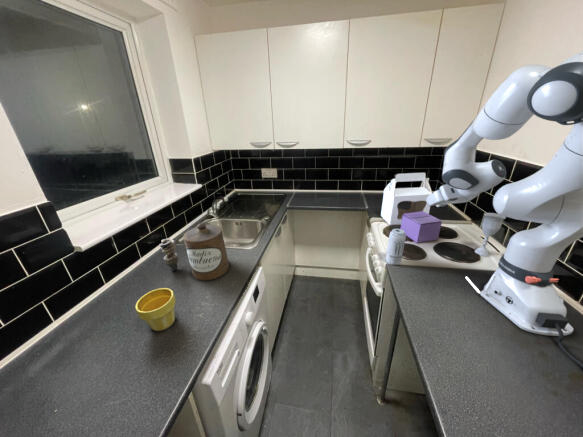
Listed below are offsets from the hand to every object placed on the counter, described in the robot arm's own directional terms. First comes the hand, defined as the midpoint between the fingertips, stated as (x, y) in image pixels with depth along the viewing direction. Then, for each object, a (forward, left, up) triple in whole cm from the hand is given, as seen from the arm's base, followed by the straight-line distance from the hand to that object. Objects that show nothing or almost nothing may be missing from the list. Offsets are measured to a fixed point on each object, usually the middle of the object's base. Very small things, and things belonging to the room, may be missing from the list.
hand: (438, 205), depth 105 cm
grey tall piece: (-28, +117, -19) cm, 122 cm away
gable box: (+27, +4, -19) cm, 33 cm away
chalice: (-9, -18, -19) cm, 28 cm away
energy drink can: (-18, +23, -19) cm, 35 cm away
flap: (+4, +2, -9) cm, 10 cm away
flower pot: (-55, +105, -19) cm, 120 cm away
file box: (+7, +3, -19) cm, 21 cm away
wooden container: (-27, +101, -19) cm, 107 cm away
